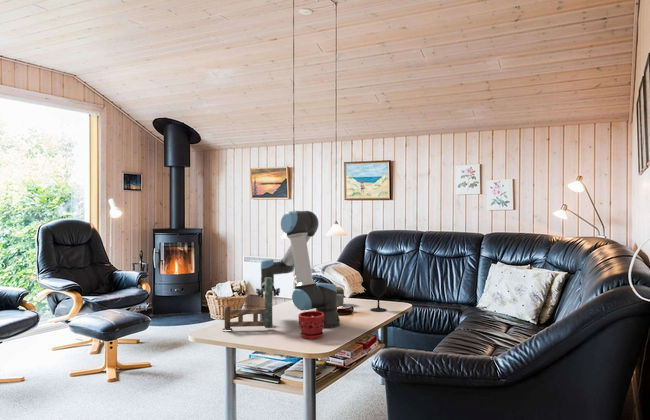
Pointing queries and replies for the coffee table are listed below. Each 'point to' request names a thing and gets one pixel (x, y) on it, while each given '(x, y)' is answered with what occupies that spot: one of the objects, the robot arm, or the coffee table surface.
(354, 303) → the coffee table surface
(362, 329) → the coffee table surface
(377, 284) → the wine glass
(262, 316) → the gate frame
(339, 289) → the shell
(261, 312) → the gate
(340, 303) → the digital clock
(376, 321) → the coffee table surface
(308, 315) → the plant pot
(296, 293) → the robot arm
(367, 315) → the coffee table surface
